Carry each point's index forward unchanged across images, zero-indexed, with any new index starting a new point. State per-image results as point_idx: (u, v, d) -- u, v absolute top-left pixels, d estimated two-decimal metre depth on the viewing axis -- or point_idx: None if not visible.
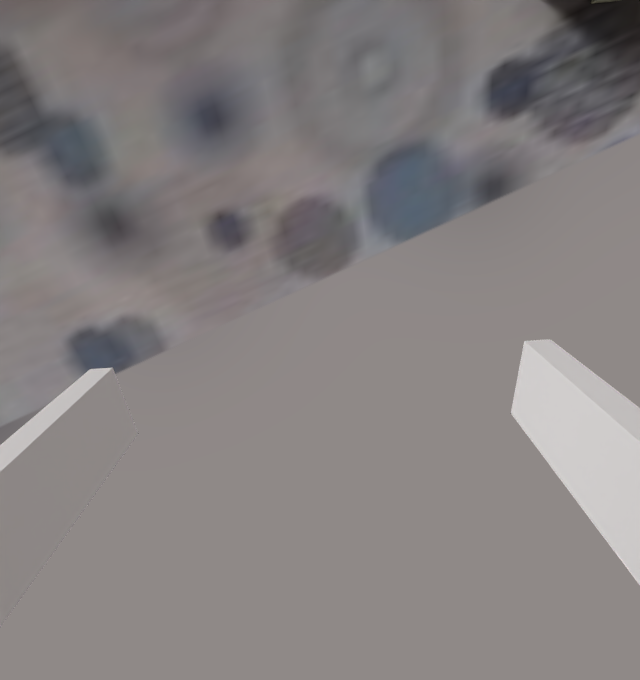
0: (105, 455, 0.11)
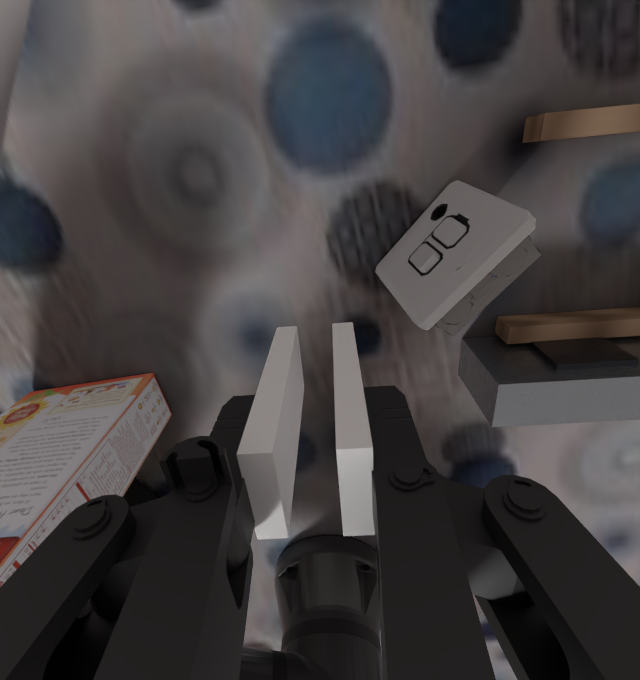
0: (299, 399, 0.12)
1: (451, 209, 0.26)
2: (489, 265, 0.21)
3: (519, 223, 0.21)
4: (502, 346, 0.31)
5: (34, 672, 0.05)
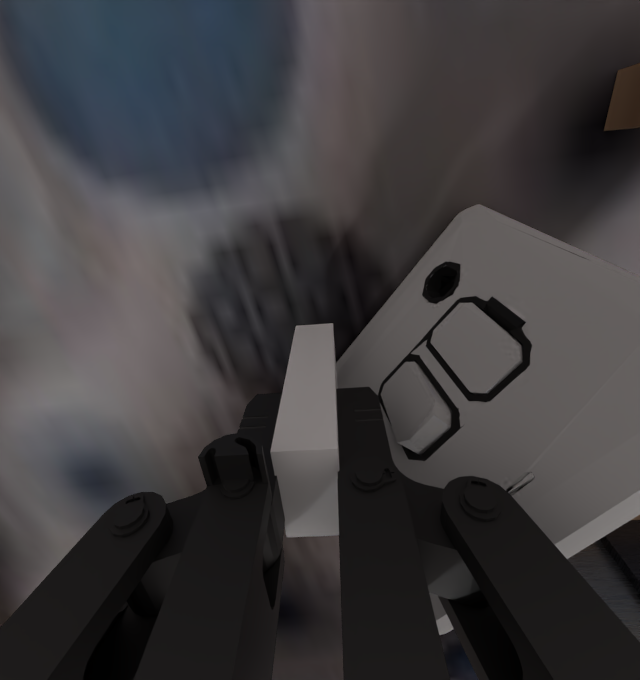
0: None
1: (471, 280, 0.11)
2: (627, 514, 0.06)
3: None
4: None
5: (76, 671, 0.05)
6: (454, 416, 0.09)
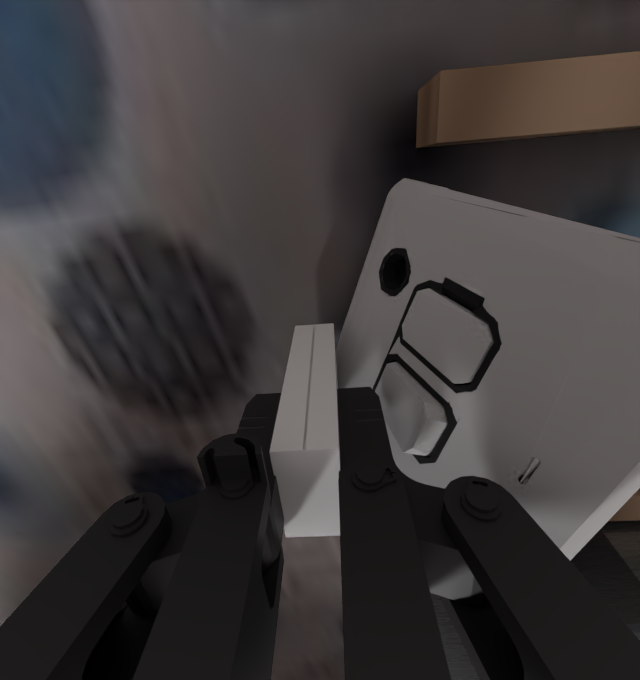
0: None
1: (421, 264, 0.10)
2: None
3: None
4: None
5: (75, 670, 0.05)
6: (447, 412, 0.09)
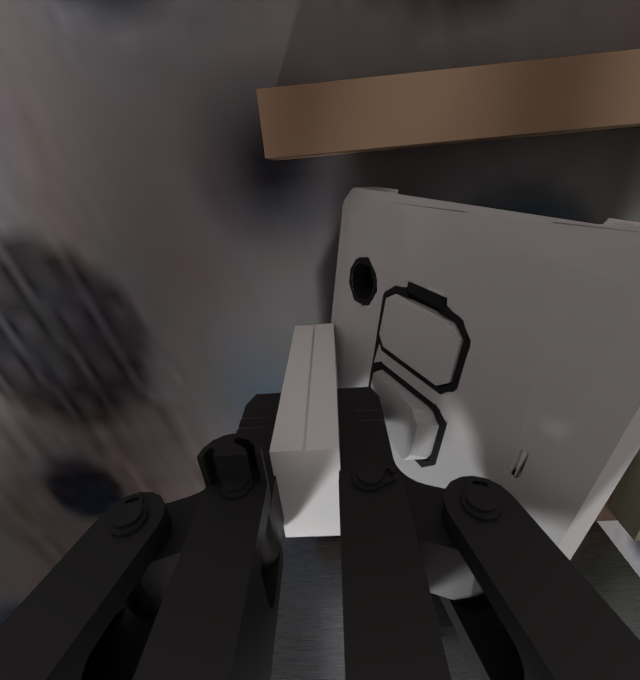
0: None
1: (384, 271, 0.10)
2: (626, 456, 0.06)
3: None
4: None
5: (74, 670, 0.05)
6: (436, 414, 0.09)
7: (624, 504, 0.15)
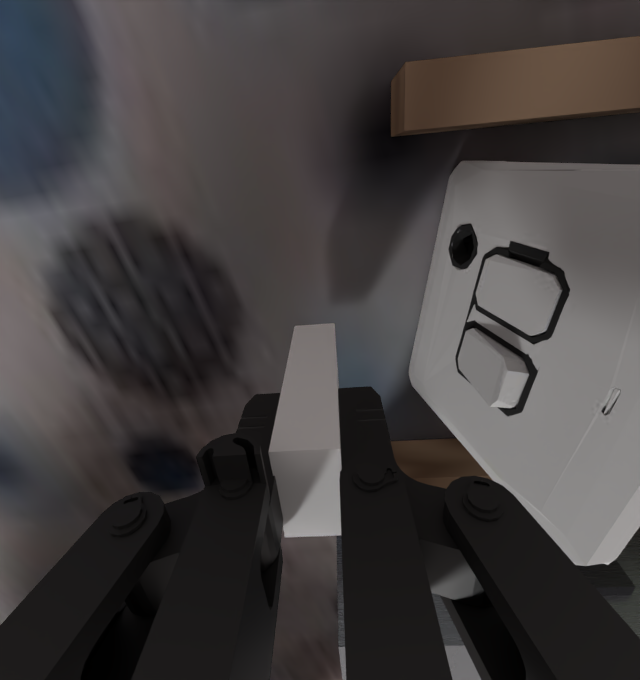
0: None
1: (486, 234, 0.11)
2: None
3: None
4: None
5: (73, 671, 0.05)
6: (527, 363, 0.10)
7: None
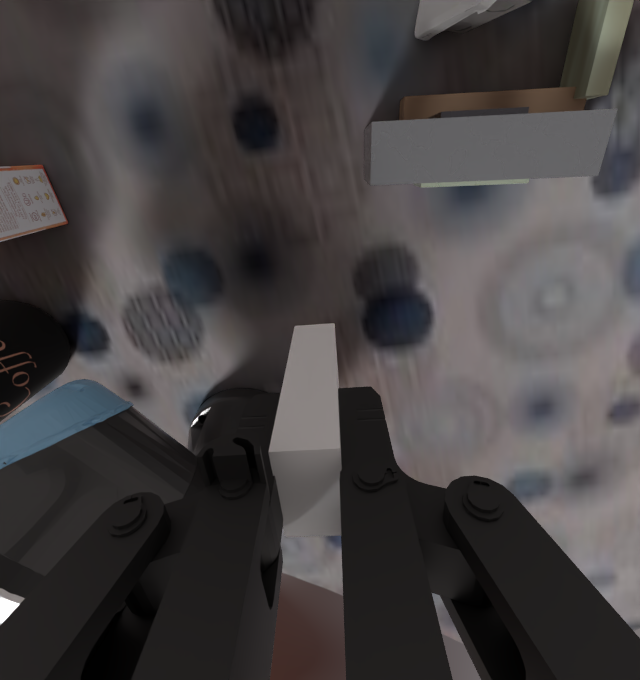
0: None
1: None
2: None
3: None
4: None
5: (73, 671, 0.05)
6: None
7: (581, 82, 0.26)
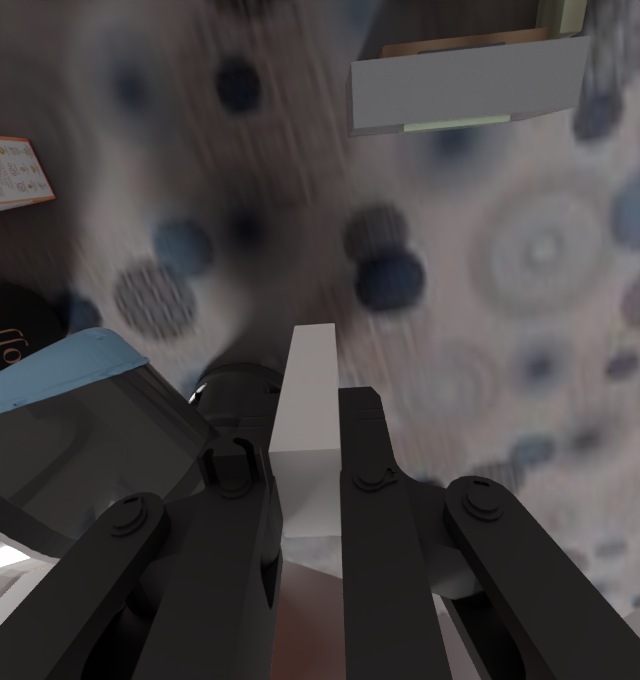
0: None
1: None
2: None
3: None
4: None
5: (73, 671, 0.05)
6: None
7: (555, 21, 0.27)
